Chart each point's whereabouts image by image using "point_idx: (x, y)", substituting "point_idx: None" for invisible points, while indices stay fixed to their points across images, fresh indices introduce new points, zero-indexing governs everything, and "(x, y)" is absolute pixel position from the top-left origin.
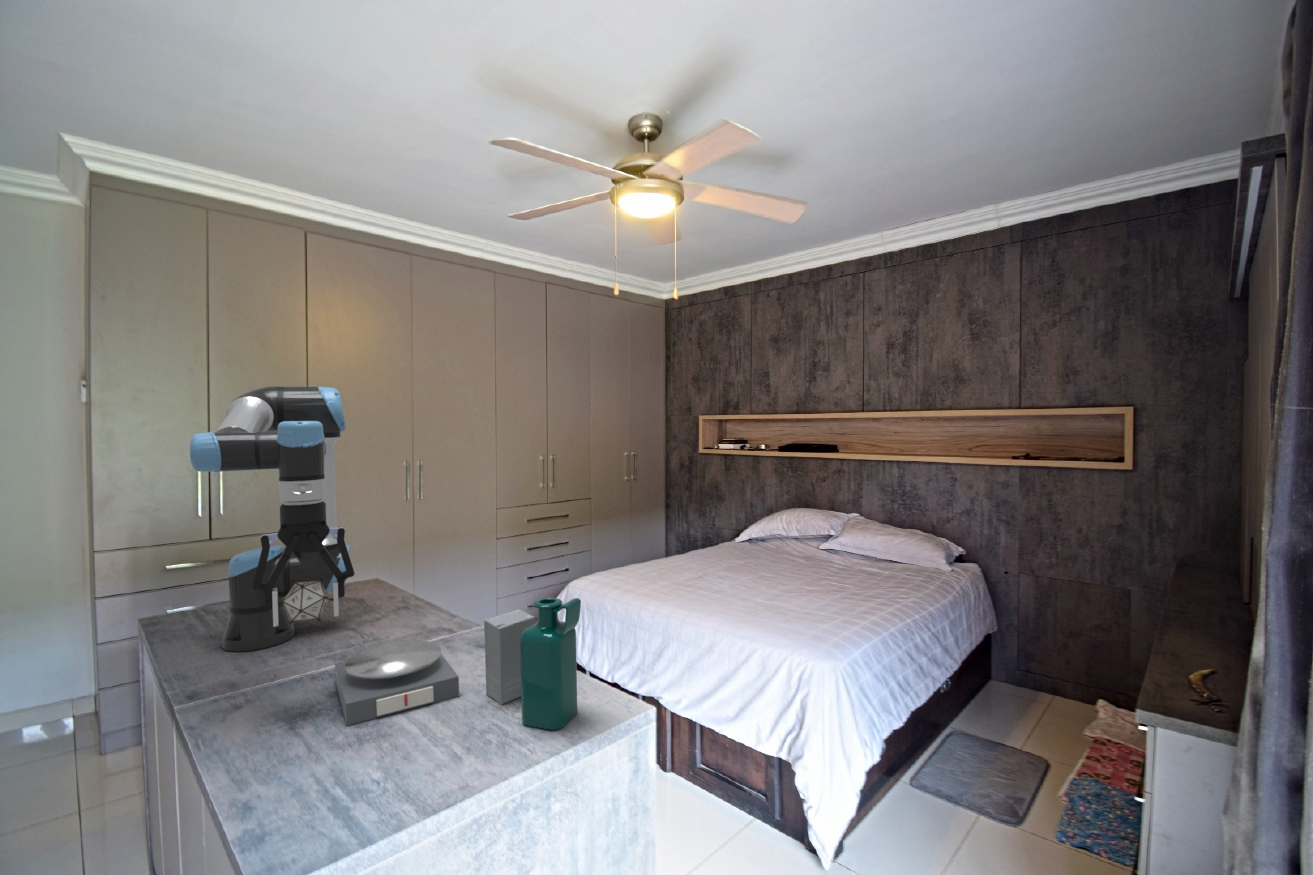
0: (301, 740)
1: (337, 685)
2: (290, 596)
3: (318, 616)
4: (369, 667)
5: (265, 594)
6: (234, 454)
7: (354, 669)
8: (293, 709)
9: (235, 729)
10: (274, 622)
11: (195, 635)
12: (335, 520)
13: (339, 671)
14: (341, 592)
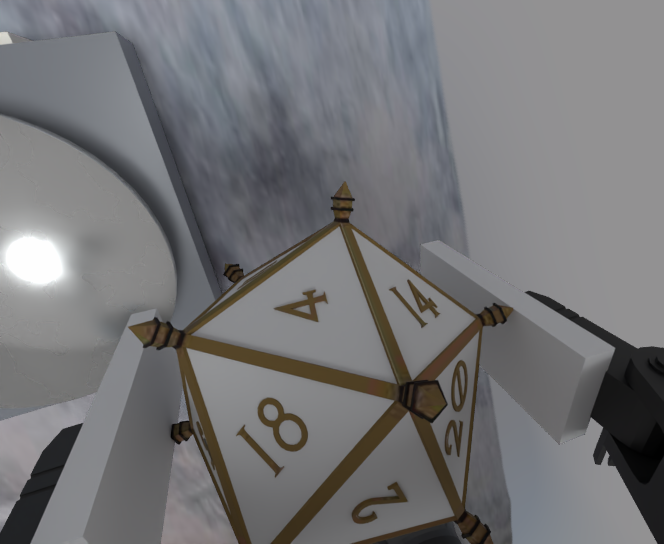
0: (240, 11)
1: (216, 284)
2: (455, 336)
3: (238, 281)
4: (68, 210)
5: (621, 344)
6: None
7: (124, 210)
8: (294, 213)
9: (389, 159)
10: (445, 247)
11: (468, 512)
12: None
13: (208, 299)
14: (62, 461)
